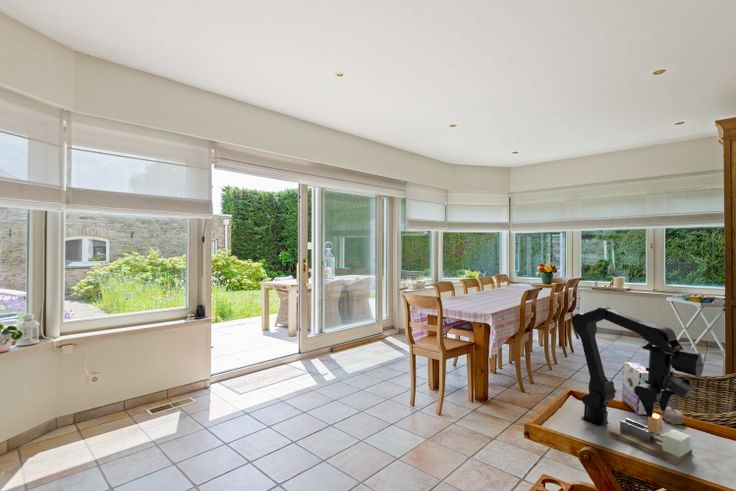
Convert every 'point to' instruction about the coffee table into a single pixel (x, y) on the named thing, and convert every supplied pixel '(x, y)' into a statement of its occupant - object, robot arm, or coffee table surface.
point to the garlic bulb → (673, 414)
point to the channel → (636, 429)
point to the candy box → (633, 385)
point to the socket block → (676, 443)
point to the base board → (647, 445)
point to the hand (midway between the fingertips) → (656, 413)
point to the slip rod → (655, 427)
